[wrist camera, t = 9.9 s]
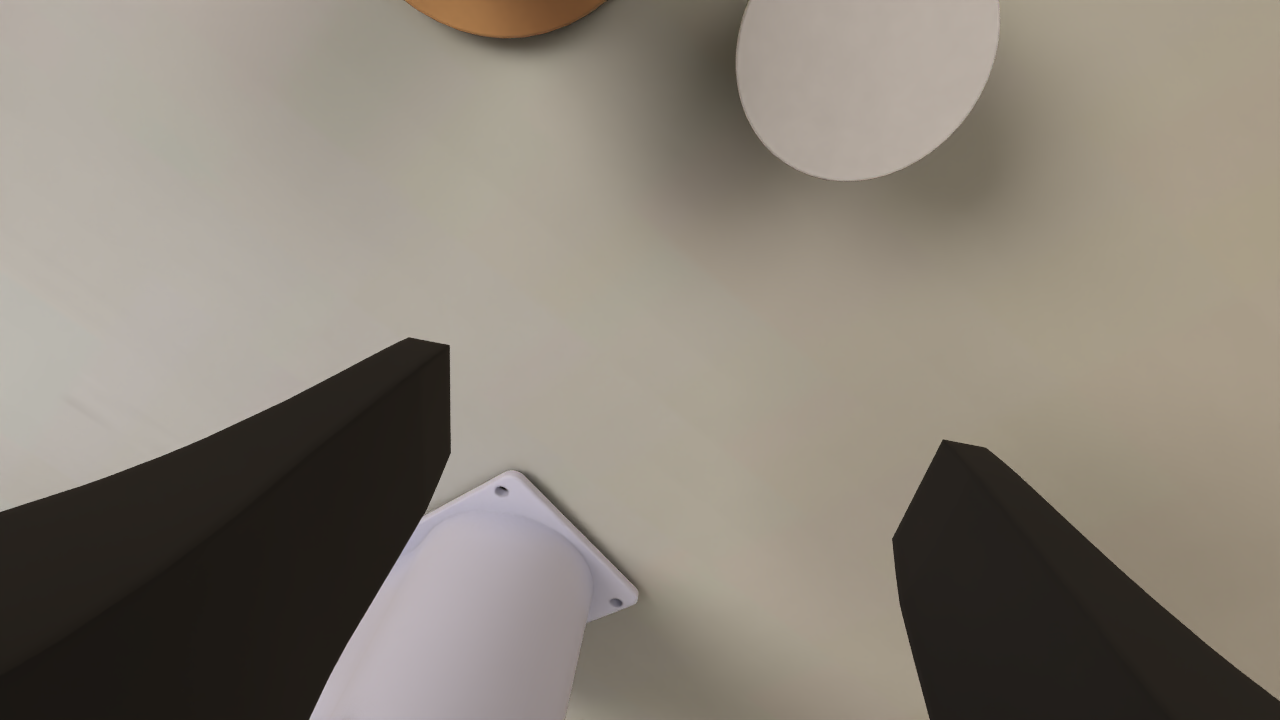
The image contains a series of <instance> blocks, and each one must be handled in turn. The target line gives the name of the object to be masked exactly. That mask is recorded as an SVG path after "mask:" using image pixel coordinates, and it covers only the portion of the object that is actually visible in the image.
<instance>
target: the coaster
mask: <svg viewBox="0 0 1280 720" xmlns="http://www.w3.org/2000/svg"><path fill="white" fill-rule="evenodd" d="M404 1H406V2H407V3H409V4H410V5H411V6H413V7H414V8H415V9H417V10H418V11H420V12H422V13H423V14H425V15H427V16H429V17H431V18H432V19H434V20H436V21H438V22H440V23H442V24H445V25H447V26H450V27H452V28H455V29H457V30H460V31H463V32H467V33H471V34H475V35H479V36H485V37H495V38H523V37H529V36H534V35H540V34H545V33H548V32H551V31H553V30H556V29H559V28H562V27H564V26H567V25H569V24H571V23H573V22H575V21H577V20H579V19H581V18H582V17H584V16H586V15H588V14H590V13H591V12H592V11H594V10H595V9H596V8H598V7H599V6H600V5H602V4H603V3H604V2H606V1H607V0H404Z"/></svg>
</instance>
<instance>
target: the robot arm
mask: <svg viewBox="0 0 1280 720" xmlns="http://www.w3.org/2000/svg"><path fill="white" fill-rule="evenodd" d="M450 453H451V433H450V345H446V344H440V343H435V342H430V341H425V340H419V339H414V338H407V339H404V340H402V341H400V342H398V343H396V344H394V345H392V346H390V347H388V348H386V349H384V350H382V351H380V352H378V353H376V354H374V355H372V356H370V357H368V358H366V359H365V360H363V361H361V362H359V363H357V364H355V365H353V366H351V367H350V368H348V369H346V370H344V371H342V372H340V373H338V374H336V375H334V376H332V377H330V378H328V379H327V380H325V381H323V382H321V383H319V384H317V385H315V386H313V387H311V388H309V389H307V390H305V391H303V392H301V393H299V394H297V395H296V396H294V397H292V398H290V399H288V400H286V401H284V402H282V403H280V404H277V405H275V406H273V407H271V408H269V409H267V410H265V411H262V412H260V413H258V414H256V415H254V416H252V417H250V418H247V419H245V420H243V421H241V422H239V423H237V424H234V425H232V426H230V427H228V428H226V429H224V430H222V431H219V432H217V433H215V434H213V435H211V436H209V437H207V438H204V439H202V440H200V441H197V442H195V443H193V444H190V445H188V446H186V447H183V448H181V449H178V450H176V451H173V452H171V453H168V454H166V455H163V456H161V457H159V458H156V459H153V460H151V461H148V462H145V463H143V464H140V465H137V466H135V467H132V468H130V469H127V470H124V471H122V472H119V473H116V474H114V475H111V476H108V477H106V478H103V479H100V480H97V481H94V482H92V483H89V484H86V485H83V486H80V487H77V488H74V489H71V490H68V491H64V492H61V493H58V494H55V495H52V496H49V497H46V498H43V499H40V500H36V501H33V502H30V503H27V504H24V505H21V506H18V507H15V508H12V509H8V510H5V511H2V512H0V720H565V718H566V713H567V708H568V704H569V699H570V695H571V690H572V686H573V681H574V677H575V672H576V667H577V663H578V658H579V654H580V649H581V645H582V640H583V636H584V631H585V626H586V623H589V622H591V621H594V620H596V619H599V618H602V617H604V616H607V615H609V614H612V613H614V612H617V611H619V610H622V609H625V608H627V607H630V606H632V605H634V604H636V603H637V601H638V595H639V592H638V590H637V588H636V587H635V586H634V585H633V584H632V583H631V582H630V581H629V580H628V579H627V578H626V577H625V576H624V575H623V574H622V573H621V572H620V571H619V570H618V569H617V568H616V567H615V566H614V565H613V564H612V563H611V562H610V561H609V560H608V559H607V558H606V557H605V556H604V555H603V554H602V553H601V552H600V551H599V550H598V549H597V548H596V547H595V546H594V545H593V544H592V543H591V542H590V541H589V540H588V539H587V538H586V537H585V536H584V535H583V534H582V533H581V532H580V531H579V530H578V529H577V528H576V527H575V526H574V525H573V524H572V523H571V522H570V521H569V520H568V519H567V518H566V517H565V516H564V515H563V514H562V513H561V512H560V511H559V510H558V509H557V508H556V507H555V506H554V505H553V504H552V503H551V502H550V501H549V500H548V499H547V498H546V497H545V496H544V495H543V494H542V493H541V492H540V491H539V490H538V489H537V488H536V487H535V486H534V485H533V484H532V483H531V482H530V481H529V480H528V479H527V478H526V477H525V476H524V475H523V474H522V473H520V472H518V471H515V470H509V471H505V472H503V473H502V474H500V475H498V476H496V477H494V478H492V479H491V480H489V481H487V482H485V483H483V484H481V485H480V486H478V487H476V488H474V489H472V490H470V491H468V492H467V493H465V494H463V495H461V496H459V497H457V498H456V499H454V500H452V501H450V502H448V503H446V504H445V505H443V506H441V507H439V508H437V509H435V510H434V511H432V512H430V513H428V514H426V515H424V513H425V512H426V510H427V507H428V505H429V503H430V501H431V498H432V496H433V494H434V492H435V489H436V487H437V485H438V482H439V480H440V478H441V475H442V473H443V470H444V468H445V465H446V463H447V461H448V458H449V456H450ZM500 487H504V488H506V489H507V490H504V489H502V488H500ZM423 515H424V516H423ZM892 541H893V551H894V561H895V571H896V579H897V587H898V594H899V601H900V607H901V611H902V615H903V619H904V623H905V627H906V631H907V635H908V639H909V643H910V646H911V650H912V654H913V658H914V662H915V666H916V669H917V673H918V677H919V681H920V684H921V688H922V692H923V696H924V699H925V703H926V707H927V711H928V714H929V718H930V720H1280V701H1279V700H1277V699H1276V698H1275V697H1273V696H1272V695H1271V694H1269V693H1268V692H1267V691H1266V690H1264V689H1263V688H1262V687H1260V686H1259V685H1258V684H1256V683H1255V682H1254V681H1252V680H1251V679H1250V678H1249V677H1247V676H1246V675H1245V674H1243V673H1242V672H1241V671H1239V670H1238V669H1237V668H1236V667H1234V666H1233V665H1232V664H1231V663H1229V662H1228V661H1227V660H1226V659H1224V658H1223V657H1222V656H1221V655H1219V654H1218V653H1217V652H1216V651H1215V650H1213V649H1212V648H1211V647H1210V646H1208V645H1207V644H1206V643H1205V642H1203V641H1202V640H1201V639H1200V638H1199V637H1198V636H1196V635H1195V634H1194V633H1193V632H1192V631H1191V630H1189V629H1188V628H1187V627H1186V626H1185V625H1183V624H1182V623H1181V622H1180V621H1179V620H1178V619H1176V618H1175V617H1174V616H1173V615H1172V614H1171V613H1169V612H1168V611H1167V610H1166V609H1165V608H1163V607H1162V606H1161V605H1160V604H1159V603H1158V602H1156V601H1155V600H1154V599H1153V598H1152V597H1151V596H1149V595H1148V594H1147V593H1146V592H1145V591H1144V590H1143V589H1142V588H1140V587H1139V586H1138V585H1137V584H1136V583H1135V582H1134V581H1133V580H1131V579H1130V578H1129V577H1128V576H1127V575H1126V574H1125V573H1124V572H1122V571H1121V570H1120V569H1119V568H1118V567H1117V566H1116V565H1115V564H1114V563H1113V562H1111V561H1110V560H1109V559H1108V558H1107V557H1106V556H1105V555H1104V554H1103V553H1102V552H1100V551H1099V550H1098V549H1097V548H1096V547H1095V546H1094V545H1093V544H1092V543H1091V542H1090V541H1089V540H1087V539H1086V538H1085V537H1084V536H1083V535H1082V534H1081V533H1080V532H1079V531H1078V530H1077V529H1076V528H1075V527H1073V526H1072V525H1071V524H1070V523H1069V522H1068V521H1067V520H1066V519H1065V518H1064V517H1063V516H1062V515H1061V514H1060V513H1059V512H1057V511H1056V510H1055V509H1054V508H1053V507H1052V506H1051V505H1050V504H1049V503H1048V502H1047V501H1046V500H1045V499H1044V498H1043V497H1041V496H1040V495H1039V494H1038V493H1037V492H1036V491H1035V490H1034V489H1033V488H1032V487H1031V486H1030V485H1028V484H1027V483H1026V482H1025V481H1024V480H1023V479H1022V478H1021V477H1020V476H1019V475H1018V474H1016V473H1015V472H1014V471H1013V470H1012V469H1011V468H1010V467H1009V466H1007V465H1006V464H1005V463H1004V462H1003V461H1002V460H1000V459H999V458H998V457H997V456H996V455H994V454H993V453H992V452H991V451H989V450H988V449H987V448H984V447H979V446H974V445H969V444H964V443H958V442H953V441H948V440H942V442H941V444H940V446H939V448H938V450H937V452H936V454H935V456H934V458H933V460H932V462H931V464H930V466H929V468H928V470H927V472H926V474H925V476H924V478H923V480H922V482H921V484H920V486H919V487H918V489H917V491H916V493H915V495H914V497H913V499H912V501H911V503H910V505H909V507H908V509H907V511H906V513H905V515H904V517H903V519H902V521H901V523H900V525H899V527H898V529H897V531H896V533H895V534H894V536H893V538H892Z"/></svg>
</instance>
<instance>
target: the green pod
mask: <svg viewBox="0 0 1280 720" xmlns="http://www.w3.org/2000/svg"><path fill="white" fill-rule="evenodd" d="M999 32H1000V5H999V0H748V3H747V5H746V9H745V12H744V14H743V18H742V21H741V25H740V29H739V33H738V40H737V47H736V78H737V87H738V92H739V96H740V100H741V104H742V107H743V109H744V112H745V115H746V117H747V119H748V121H749V123H750V125H751V127H752V129H753V131H754V132H755V133H756V135H757V136H758V138H759V139H760V140H761V142H762V143H763V144H764V145H765V146H766V147H767V148H768V149H769V150H770V151H771V153H772V154H774V155H775V156H776V157H777V158H779V159H780V160H781V161H783V162H784V163H785V164H787V165H789V166H790V167H792V168H794V169H796V170H797V171H800V172H802V173H805V174H807V175H810V176H813V177H817V178H821V179H825V180H832V181H862V180H869V179H874V178H878V177H882V176H886V175H889V174H891V173H894V172H897V171H899V170H902V169H904V168H906V167H908V166H910V165H912V164H914V163H915V162H917V161H919V160H921V159H922V158H923V157H925V156H926V155H928V154H929V153H931V152H932V151H934V150H935V149H936V148H937V147H938V146H940V145H941V144H942V143H943V142H944V141H946V140H947V139H948V138H949V137H950V136H951V135H952V133H953V132H954V131H955V130H956V129H957V128H958V127H959V126H960V125H961V124H962V122H963V121H964V120H965V118H966V117H967V116H968V114H969V113H970V112H971V110H972V109H973V107H974V105H975V104H976V102H977V101H978V99H979V97H980V96H981V94H982V91H983V89H984V87H985V85H986V83H987V81H988V79H989V76H990V73H991V70H992V67H993V64H994V61H995V57H996V52H997V47H998V43H999Z"/></svg>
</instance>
